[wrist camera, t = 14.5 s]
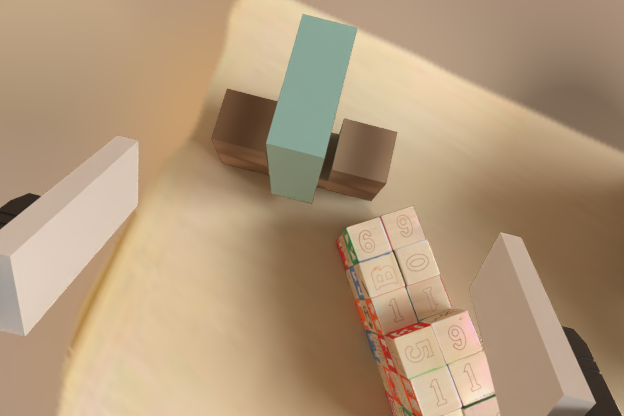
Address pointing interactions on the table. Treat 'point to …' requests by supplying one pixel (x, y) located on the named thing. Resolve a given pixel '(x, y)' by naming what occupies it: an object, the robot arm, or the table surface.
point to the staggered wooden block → (339, 156)
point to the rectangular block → (308, 106)
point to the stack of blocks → (414, 321)
